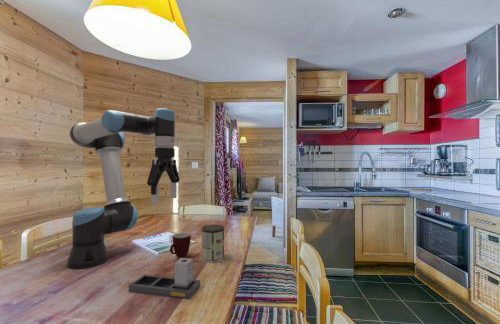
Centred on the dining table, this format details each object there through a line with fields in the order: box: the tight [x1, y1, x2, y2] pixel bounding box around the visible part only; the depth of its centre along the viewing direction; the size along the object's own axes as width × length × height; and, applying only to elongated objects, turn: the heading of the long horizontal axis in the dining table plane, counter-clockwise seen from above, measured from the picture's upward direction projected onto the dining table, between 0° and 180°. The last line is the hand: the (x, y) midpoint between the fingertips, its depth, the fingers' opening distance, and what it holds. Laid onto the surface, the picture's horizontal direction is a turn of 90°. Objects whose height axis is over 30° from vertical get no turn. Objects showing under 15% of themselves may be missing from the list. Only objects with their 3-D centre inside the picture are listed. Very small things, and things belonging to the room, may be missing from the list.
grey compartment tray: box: [128, 274, 201, 300], centre depth 87 cm, size 22×9×2 cm, turn 78°
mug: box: [169, 232, 192, 259], centre depth 116 cm, size 11×8×10 cm
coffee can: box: [201, 224, 225, 263], centre depth 116 cm, size 10×10×14 cm
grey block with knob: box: [174, 257, 194, 290], centre depth 85 cm, size 4×4×10 cm
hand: (164, 200), depth 101 cm, fingers open, 13 cm apart
